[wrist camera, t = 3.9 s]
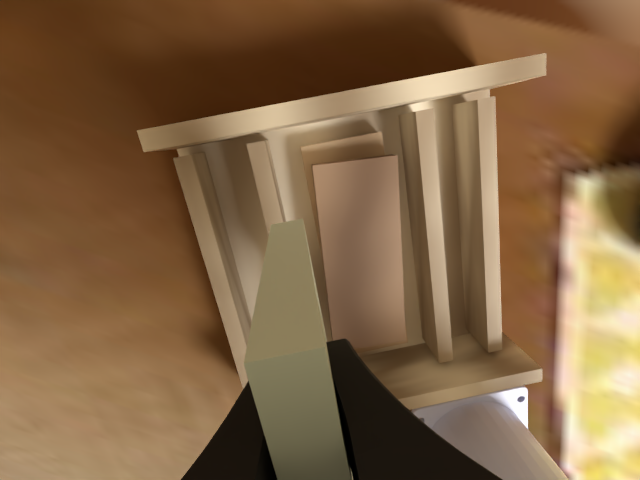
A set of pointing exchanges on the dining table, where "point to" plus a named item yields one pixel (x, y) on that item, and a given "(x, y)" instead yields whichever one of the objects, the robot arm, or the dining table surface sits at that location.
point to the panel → (294, 364)
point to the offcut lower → (336, 152)
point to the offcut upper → (361, 248)
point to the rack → (415, 213)
